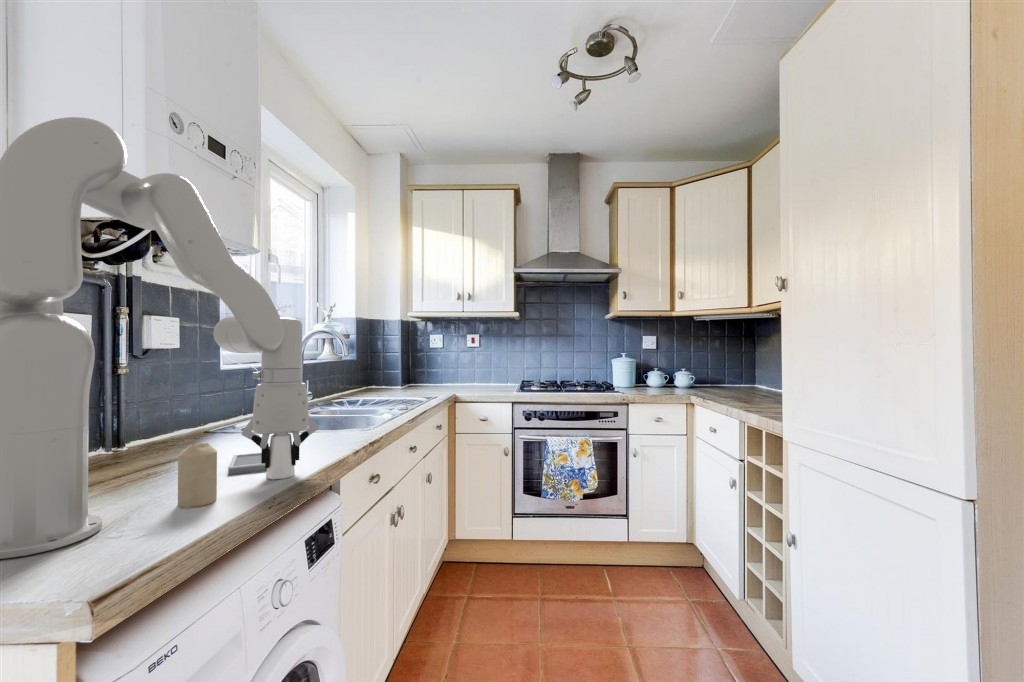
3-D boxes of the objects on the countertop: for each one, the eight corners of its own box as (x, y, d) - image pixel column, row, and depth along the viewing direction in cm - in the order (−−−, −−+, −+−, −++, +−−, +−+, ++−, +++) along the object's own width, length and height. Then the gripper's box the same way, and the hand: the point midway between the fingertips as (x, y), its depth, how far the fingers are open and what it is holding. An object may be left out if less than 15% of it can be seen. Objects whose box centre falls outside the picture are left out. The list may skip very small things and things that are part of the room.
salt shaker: (259, 478, 91) (260, 424, 91) (277, 471, 96) (278, 420, 96) (283, 480, 90) (284, 425, 90) (300, 472, 95) (301, 420, 96)
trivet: (228, 474, 94) (228, 467, 94) (233, 461, 105) (233, 455, 105) (292, 467, 100) (292, 460, 100) (290, 455, 110) (290, 449, 110)
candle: (196, 509, 74) (197, 448, 75) (169, 507, 76) (169, 447, 76) (224, 498, 80) (224, 441, 80) (198, 496, 81) (198, 440, 81)
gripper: (232, 379, 86) (231, 475, 86) (327, 377, 94) (325, 465, 94) (236, 377, 93) (234, 465, 93) (323, 375, 101) (322, 457, 100)
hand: (280, 464), depth 93 cm, fingers closed on salt shaker, 4 cm apart
